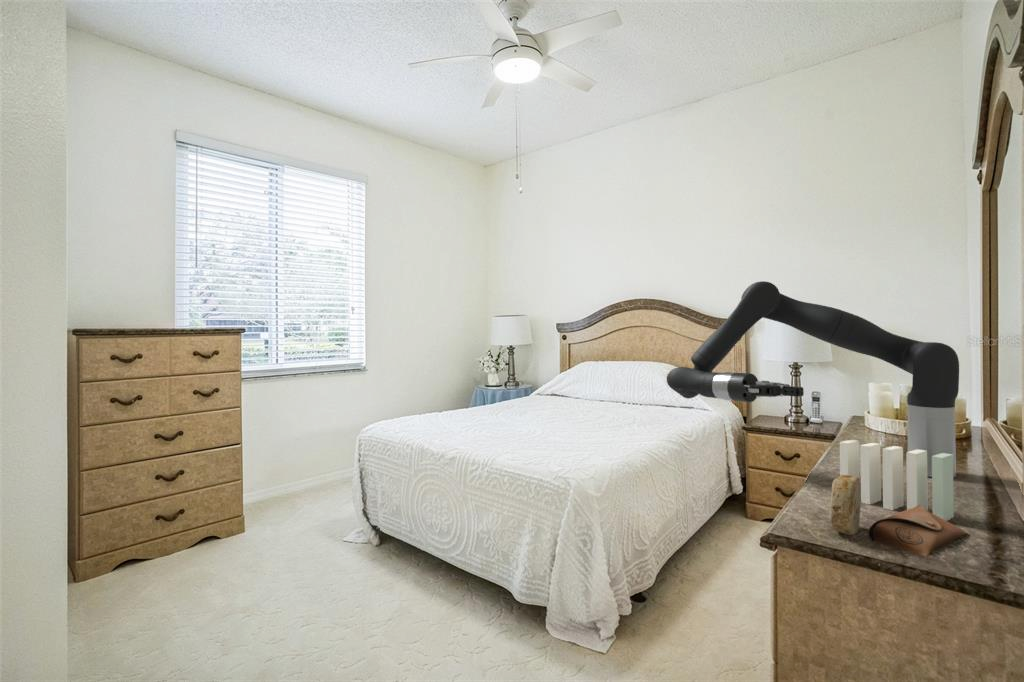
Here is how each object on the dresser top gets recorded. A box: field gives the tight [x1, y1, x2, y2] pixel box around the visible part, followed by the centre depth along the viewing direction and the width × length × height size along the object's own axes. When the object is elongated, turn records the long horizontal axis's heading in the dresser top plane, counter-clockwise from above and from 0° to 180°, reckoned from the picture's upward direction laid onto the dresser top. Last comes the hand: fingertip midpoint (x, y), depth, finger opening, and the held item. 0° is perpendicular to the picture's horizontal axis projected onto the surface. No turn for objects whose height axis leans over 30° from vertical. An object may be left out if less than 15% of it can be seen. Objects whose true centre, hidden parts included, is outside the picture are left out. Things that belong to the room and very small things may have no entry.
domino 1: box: [839, 439, 861, 483], centre depth 107 cm, size 2×5×12 cm, turn 121°
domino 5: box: [931, 453, 955, 522], centre depth 94 cm, size 2×5×12 cm, turn 121°
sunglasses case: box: [868, 505, 970, 557], centre depth 85 cm, size 18×7×7 cm
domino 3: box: [882, 445, 905, 511], centre depth 100 cm, size 2×5×12 cm, turn 122°
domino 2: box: [859, 442, 882, 505], centre depth 104 cm, size 2×5×12 cm, turn 121°
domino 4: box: [905, 449, 929, 511], centre depth 97 cm, size 2×5×12 cm, turn 121°
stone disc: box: [829, 475, 862, 536], centre depth 88 cm, size 10×4×10 cm, turn 135°
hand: (801, 392), depth 116 cm, fingers closed
